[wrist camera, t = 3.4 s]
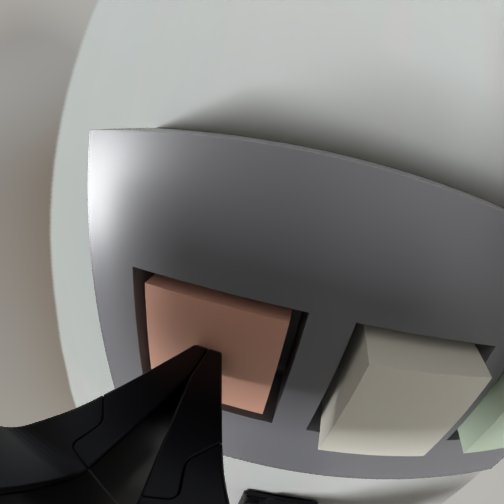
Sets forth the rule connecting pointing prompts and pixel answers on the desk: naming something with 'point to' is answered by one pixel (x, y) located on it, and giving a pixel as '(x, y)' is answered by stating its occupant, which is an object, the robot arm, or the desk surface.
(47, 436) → the robot arm
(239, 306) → the terracotta key
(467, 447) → the sage key
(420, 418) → the cream key
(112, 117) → the desk surface
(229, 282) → the keyguard
